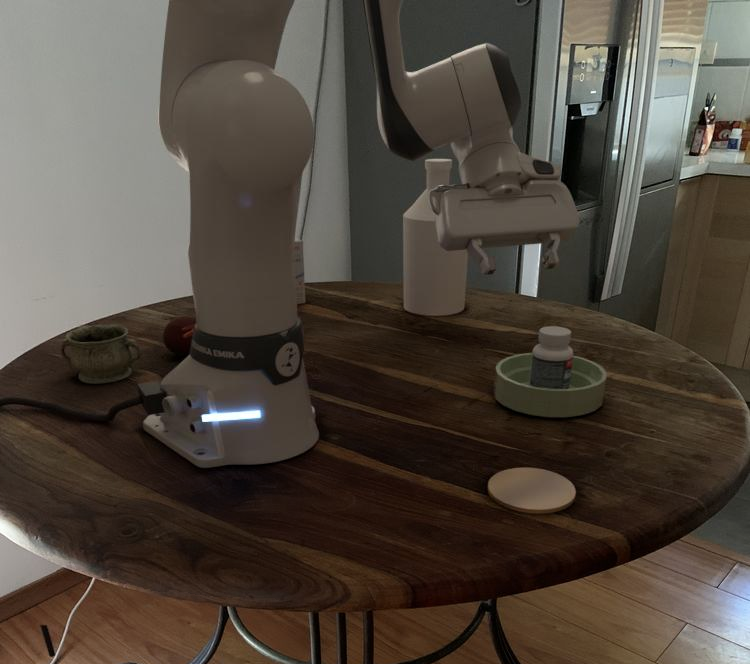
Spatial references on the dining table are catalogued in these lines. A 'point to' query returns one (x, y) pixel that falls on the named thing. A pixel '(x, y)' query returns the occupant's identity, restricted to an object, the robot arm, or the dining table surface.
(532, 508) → the coaster
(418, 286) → the bottle
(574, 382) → the bowl
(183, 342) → the red tomato
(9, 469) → the dining table surface
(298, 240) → the ink box
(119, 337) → the vessel
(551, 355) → the pill bottle
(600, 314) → the dining table surface
